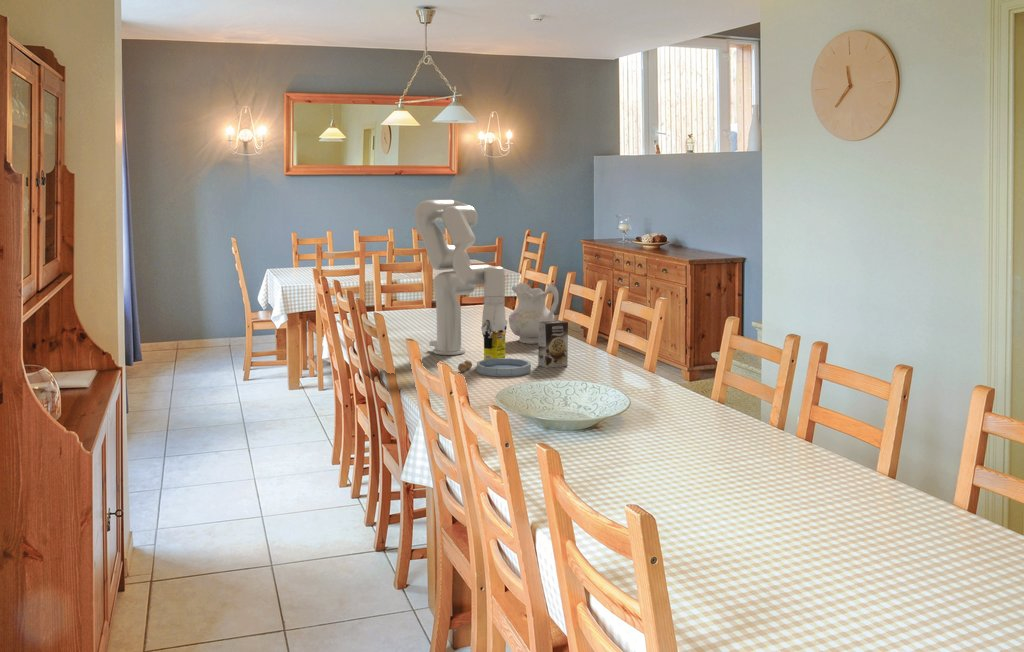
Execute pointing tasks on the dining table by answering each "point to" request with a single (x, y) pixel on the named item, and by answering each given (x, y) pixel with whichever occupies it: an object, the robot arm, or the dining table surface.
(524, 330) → the ceramic pitcher
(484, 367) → the tray
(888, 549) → the dining table surface
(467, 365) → the bead
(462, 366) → the bead
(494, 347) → the supplement box
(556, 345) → the coffee box
